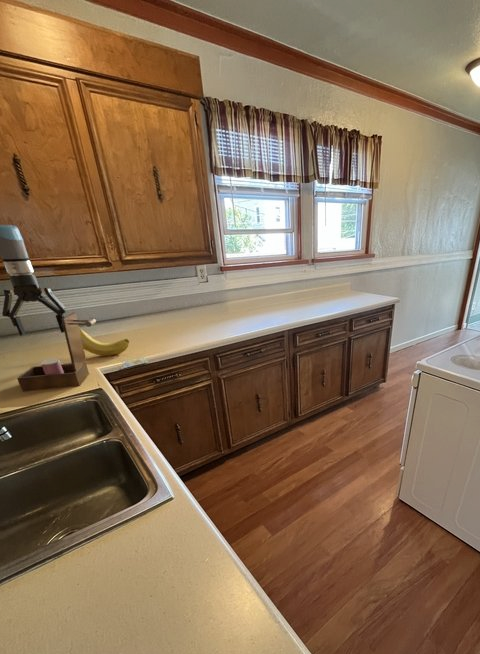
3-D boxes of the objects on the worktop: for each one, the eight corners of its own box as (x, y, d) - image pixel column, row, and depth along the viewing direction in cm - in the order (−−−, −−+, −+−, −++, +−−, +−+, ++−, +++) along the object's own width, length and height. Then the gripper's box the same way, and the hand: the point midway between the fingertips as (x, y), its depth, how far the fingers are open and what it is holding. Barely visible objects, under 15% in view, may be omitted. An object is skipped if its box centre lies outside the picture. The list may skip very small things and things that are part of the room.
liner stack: (45, 386, 129) (36, 364, 125) (53, 379, 134) (45, 359, 130) (62, 384, 130) (55, 363, 126) (70, 378, 135) (62, 358, 131)
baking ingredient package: (148, 361, 153) (114, 369, 145) (148, 362, 154) (114, 370, 145) (142, 356, 159) (109, 364, 151) (143, 357, 160) (109, 365, 151)
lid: (61, 319, 117) (87, 319, 120) (73, 312, 128) (97, 312, 130) (73, 371, 126) (97, 371, 128) (84, 361, 137) (106, 360, 139)
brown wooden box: (23, 393, 125) (16, 378, 122) (37, 380, 136) (32, 366, 133) (80, 387, 129) (75, 373, 126) (90, 375, 140) (85, 362, 137)
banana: (132, 350, 170) (122, 312, 161) (131, 354, 166) (121, 314, 157) (82, 356, 163) (69, 316, 154) (80, 360, 158) (66, 318, 149)
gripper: (-27, 276, 109) (0, 338, 119) (57, 273, 115) (76, 333, 124) (-14, 274, 116) (10, 333, 125) (65, 271, 121) (82, 328, 131)
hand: (43, 333), depth 125 cm, fingers open, 13 cm apart
